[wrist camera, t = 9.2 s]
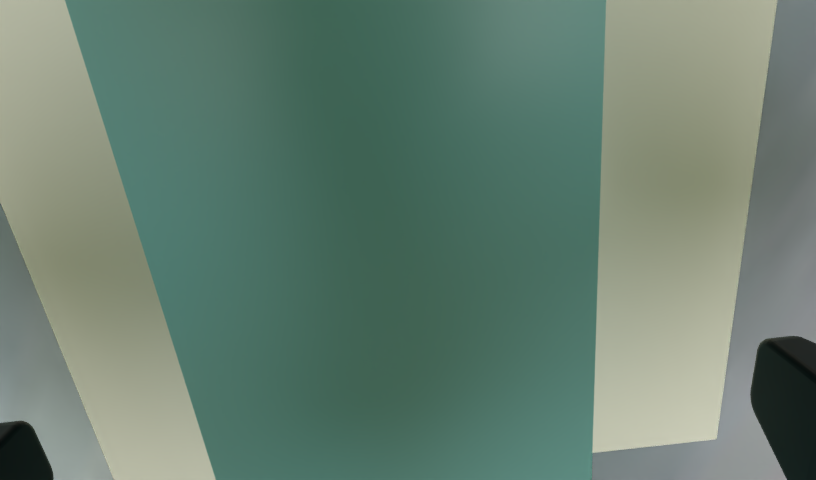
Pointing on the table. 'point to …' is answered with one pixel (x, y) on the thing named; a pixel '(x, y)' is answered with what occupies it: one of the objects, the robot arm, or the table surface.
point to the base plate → (618, 228)
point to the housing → (367, 225)
